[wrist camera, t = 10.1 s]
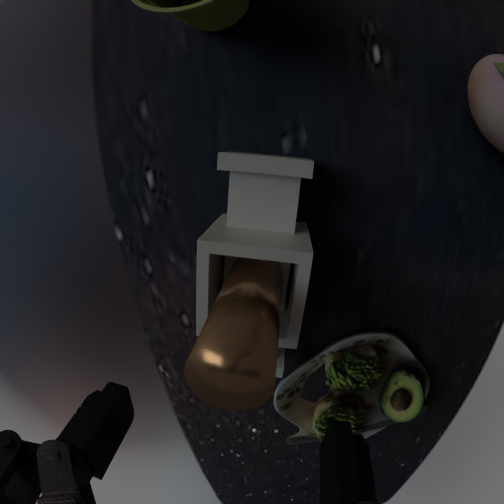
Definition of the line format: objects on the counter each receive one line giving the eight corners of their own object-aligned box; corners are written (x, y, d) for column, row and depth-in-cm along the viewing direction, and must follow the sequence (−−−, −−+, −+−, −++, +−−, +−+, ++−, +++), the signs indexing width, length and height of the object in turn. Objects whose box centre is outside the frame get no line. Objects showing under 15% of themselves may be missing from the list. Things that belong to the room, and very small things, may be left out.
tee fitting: (313, 159, 24) (325, 164, 17) (287, 344, 30) (285, 400, 23) (226, 151, 25) (201, 152, 17) (217, 335, 31) (197, 387, 23)
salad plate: (322, 456, 37) (323, 480, 33) (236, 394, 34) (229, 422, 30) (441, 389, 31) (452, 413, 27) (377, 302, 28) (390, 327, 24)
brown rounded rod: (285, 253, 23) (281, 351, 12) (279, 301, 24) (269, 415, 13) (232, 247, 23) (182, 336, 12) (229, 295, 25) (186, 402, 13)
